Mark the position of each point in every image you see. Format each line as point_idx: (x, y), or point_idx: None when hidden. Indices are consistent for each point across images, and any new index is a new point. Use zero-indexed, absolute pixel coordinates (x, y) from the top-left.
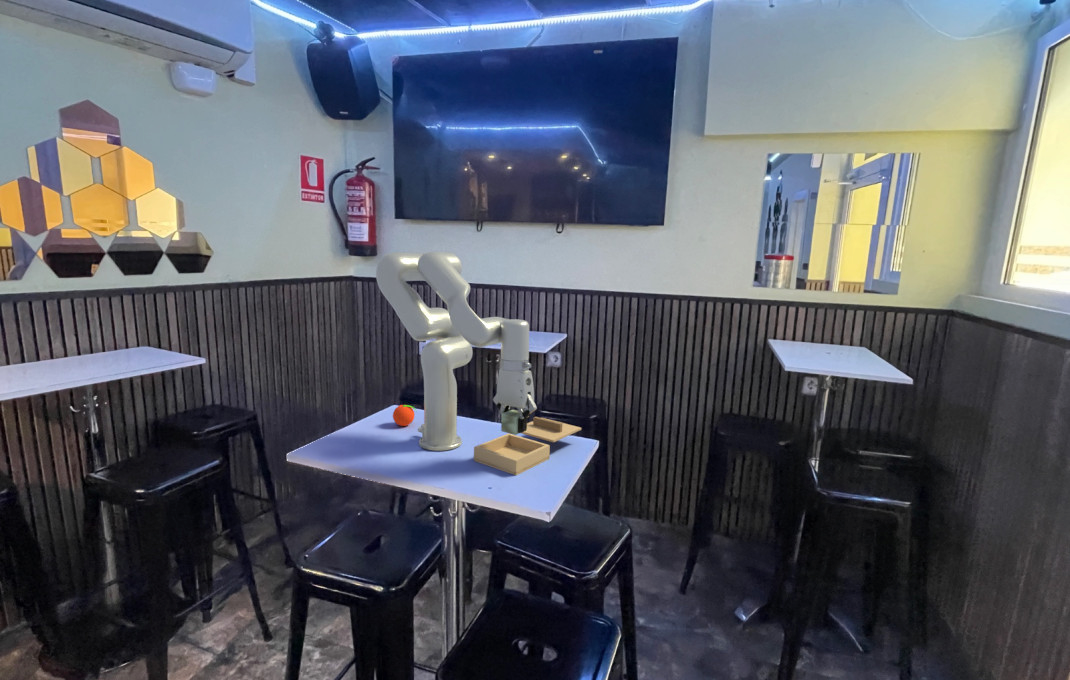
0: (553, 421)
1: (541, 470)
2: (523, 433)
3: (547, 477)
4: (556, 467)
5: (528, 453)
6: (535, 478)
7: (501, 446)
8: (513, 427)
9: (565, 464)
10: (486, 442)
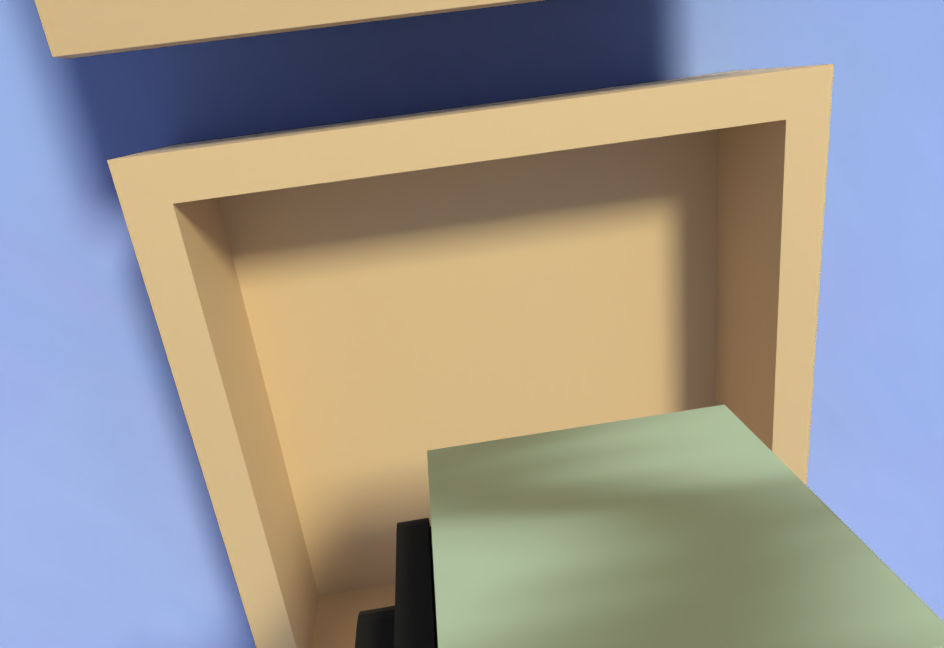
0: None
1: (828, 329)
2: (292, 28)
3: (932, 385)
4: (899, 182)
5: (782, 439)
6: (868, 460)
7: (241, 319)
8: None
9: (936, 57)
10: (245, 574)
